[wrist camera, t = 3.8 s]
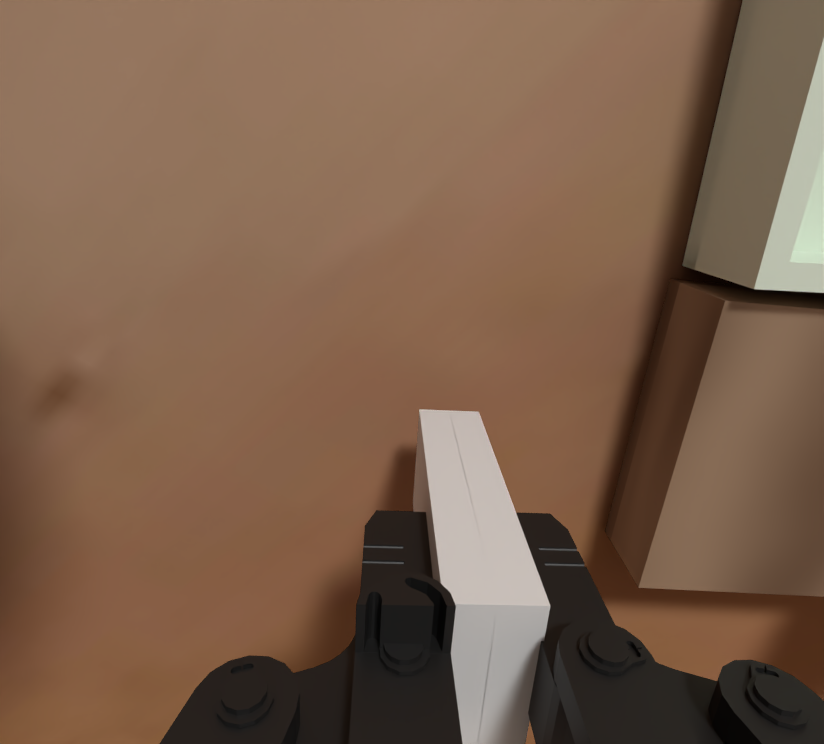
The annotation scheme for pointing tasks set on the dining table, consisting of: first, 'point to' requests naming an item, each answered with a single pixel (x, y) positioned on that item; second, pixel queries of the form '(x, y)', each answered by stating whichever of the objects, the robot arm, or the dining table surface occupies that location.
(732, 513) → the wooden block with recess
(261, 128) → the dining table surface
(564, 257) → the dining table surface
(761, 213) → the tray
